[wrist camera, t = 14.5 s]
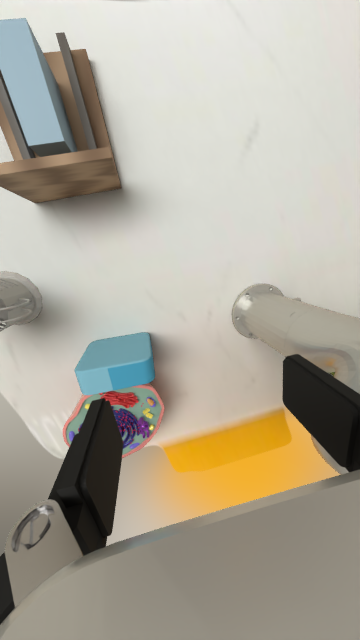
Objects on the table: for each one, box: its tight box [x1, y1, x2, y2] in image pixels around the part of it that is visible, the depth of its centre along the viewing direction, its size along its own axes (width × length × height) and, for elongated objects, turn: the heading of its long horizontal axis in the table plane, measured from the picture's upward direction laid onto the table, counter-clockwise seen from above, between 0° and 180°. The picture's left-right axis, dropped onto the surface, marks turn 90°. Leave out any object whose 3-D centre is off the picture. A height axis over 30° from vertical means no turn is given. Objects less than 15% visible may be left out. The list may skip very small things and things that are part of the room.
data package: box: [75, 333, 155, 395], centre depth 37 cm, size 12×4×12 cm, turn 97°
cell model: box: [63, 383, 165, 458], centre depth 41 cm, size 17×20×11 cm
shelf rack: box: [0, 33, 121, 203], centre depth 25 cm, size 14×16×12 cm
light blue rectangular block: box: [0, 18, 78, 157], centre depth 25 cm, size 4×10×8 cm, turn 11°
